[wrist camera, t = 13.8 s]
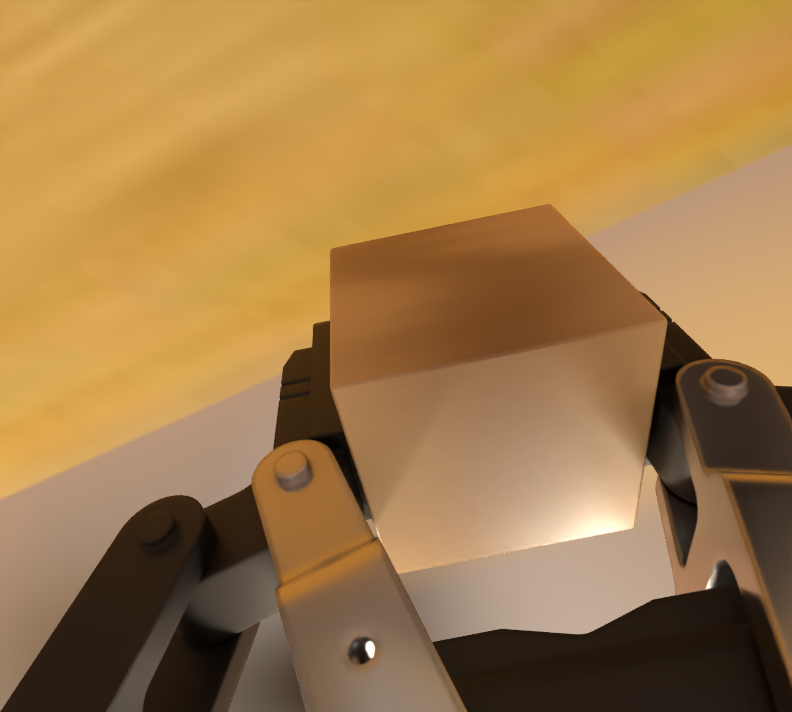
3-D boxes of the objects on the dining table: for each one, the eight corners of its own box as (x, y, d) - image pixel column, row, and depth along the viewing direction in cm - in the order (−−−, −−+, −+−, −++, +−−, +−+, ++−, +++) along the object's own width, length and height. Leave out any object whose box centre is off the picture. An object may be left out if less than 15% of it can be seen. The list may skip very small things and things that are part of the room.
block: (373, 412, 13) (390, 576, 10) (329, 247, 11) (329, 387, 7) (550, 376, 13) (636, 529, 10) (550, 202, 11) (669, 319, 7)
